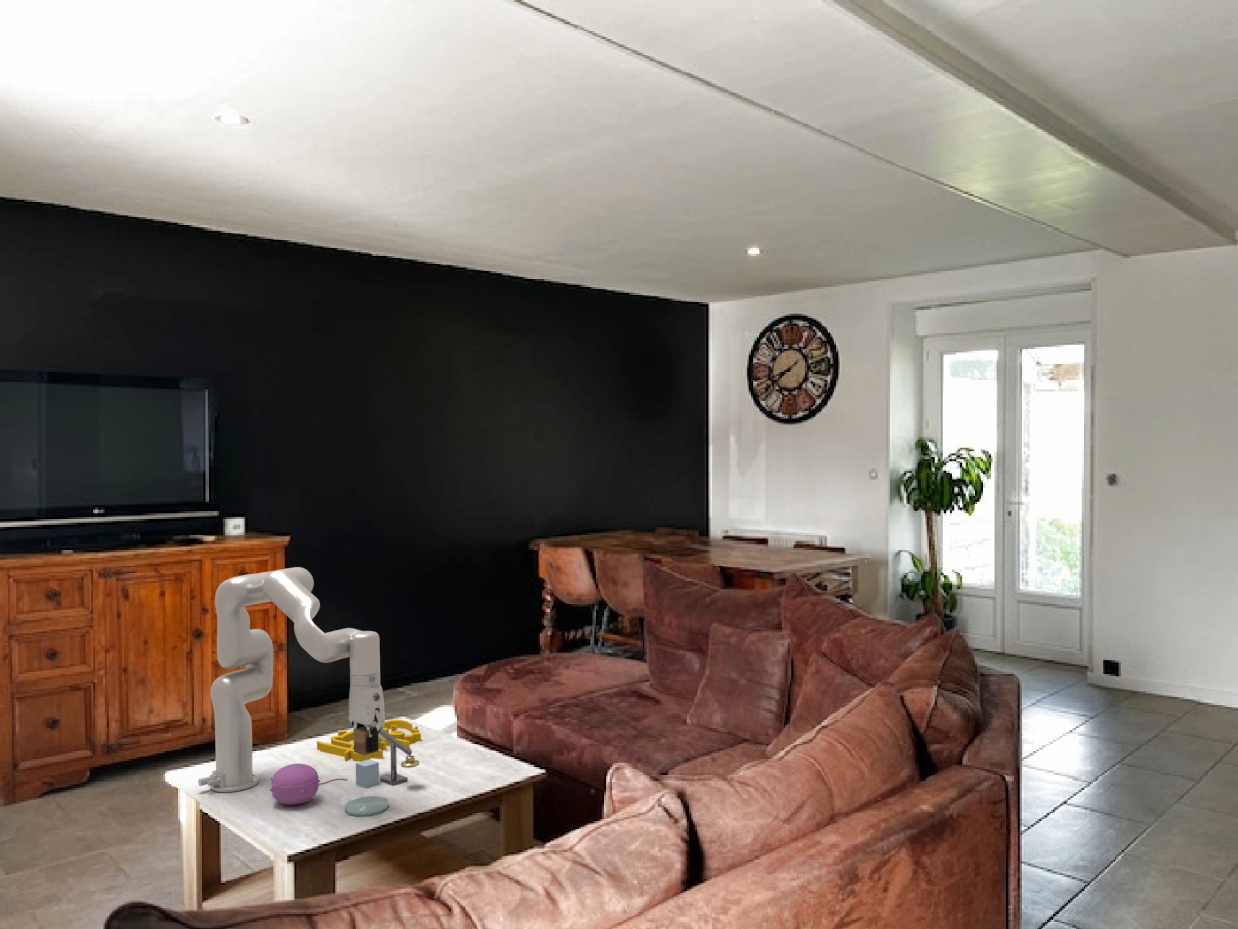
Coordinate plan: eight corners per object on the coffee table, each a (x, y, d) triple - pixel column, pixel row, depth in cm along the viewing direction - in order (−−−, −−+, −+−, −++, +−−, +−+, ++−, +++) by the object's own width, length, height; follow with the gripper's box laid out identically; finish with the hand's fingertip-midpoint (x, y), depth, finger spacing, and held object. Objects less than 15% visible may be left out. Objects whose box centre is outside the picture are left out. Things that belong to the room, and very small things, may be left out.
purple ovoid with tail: (287, 793, 255) (286, 757, 255) (349, 797, 251) (349, 760, 251) (261, 809, 243) (261, 771, 243) (326, 814, 239) (326, 775, 239)
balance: (408, 791, 255) (407, 740, 255) (365, 776, 268) (364, 727, 268) (423, 786, 259) (422, 736, 259) (380, 771, 272) (379, 723, 272)
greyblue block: (365, 788, 258) (364, 766, 258) (355, 784, 261) (355, 763, 261) (379, 783, 262) (378, 762, 262) (369, 780, 265) (369, 759, 265)
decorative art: (387, 716, 323) (446, 730, 304) (387, 724, 323) (447, 739, 304) (301, 740, 296) (361, 757, 277) (302, 749, 296) (361, 767, 277)
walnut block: (364, 755, 240) (363, 732, 240) (354, 752, 243) (353, 729, 243) (379, 751, 243) (378, 728, 243) (368, 748, 246) (368, 725, 246)
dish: (360, 820, 235) (360, 815, 235) (336, 809, 242) (336, 805, 242) (397, 807, 243) (397, 802, 243) (372, 797, 251) (372, 793, 251)
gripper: (396, 681, 240) (398, 752, 241) (358, 672, 251) (360, 740, 251) (372, 687, 235) (373, 759, 235) (334, 678, 246) (335, 747, 246)
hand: (366, 748), depth 243 cm, fingers closed on walnut block, 4 cm apart
